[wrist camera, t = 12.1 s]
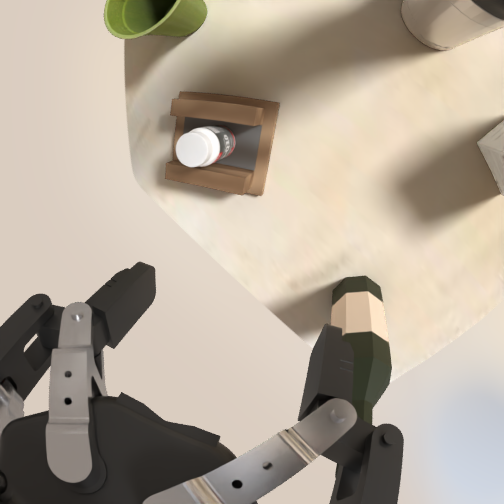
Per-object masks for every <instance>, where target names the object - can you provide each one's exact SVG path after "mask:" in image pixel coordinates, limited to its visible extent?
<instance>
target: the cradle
mask: <svg viewBox="0 0 504 504" xmlns="http://www.w3.org/2000/svg"><path fill="white" fill-rule="evenodd" d="M279 104H280V103H277V102H271V101H265V100H259V99H252V98H245V97H237V96H229V95H220V94H209V93H197V92H181V91H180V94H179V99H172V105H171V114H170V115H172V116H177V119H176V128H175V139H174V150H173V161H171V162H168V163H166V175H165V179H169V180H174V181H179V182H184V183H189V184H193V185H198V186H203V187H207V188H212V189H216V190H221V191H225V192H230V193H234V194H238V195H243V194H244V193H250V194H255V195H259V196H262V194H263V192H264V186H265V181H266V175H267V170H268V164H269V159H270V154H271V148H272V143H273V137H274V132H275V126H276V121H277V115H278V110H279ZM213 125H222V126H225V127H227V128H228V129H230V130H231V131H232V133H233V135H234V137H235V147H234V150H233V151H232V153H231V154H230V155H229V156H227V157H226V158H223V159H221V160H219V161H217V162H215V163H212V164H210V165H208V166H203V167H200V166H197V167H188V166H185V165H184V164H182V163H181V162H180V161H179V159H178V157H177V155H176V144H177V141H178V140H179V138H180V137H181V136H182V135H184V134H186V133H189V132H190V131H192V130H193V129H196V128H201V127H207V126H213Z"/></svg>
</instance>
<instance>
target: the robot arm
mask: <svg viewBox="0 0 504 504" xmlns="http://www.w3.org/2000/svg"><path fill="white" fill-rule="evenodd" d="M401 13H402V18H403V21H404V23H405V25H406V26H407V28H408V30H409V31H410V32H411V33H412V35H414V36H415V37H416V38H417V39H418V40H419V41H421V42H422V43H423V44H425V45H427V46H429V47H431V48H434V49H437V50H450V49H453V48H455V47H457V46H460V45H462V44H464V43H467V42H469V41H471V40H474V39H476V38H478V37H481V36H483V35H485V34H488V33H490V32H493V31H495V30H498V29H500V28H503V27H504V0H404V1H403V3H402V7H401ZM155 294H156V284H155V268H154V267H153V266H150V265H148V264H145V263H142V262H138V263H136V264H135V265H134V266H133V267H132V268H131V269H128V268H127V269H124V270H122V271H120V272H118V273H116V274H115V275H114V276H113V277H112V278H111V280H109V281H108V282H106V283H105V285H103V286H102V287H101V288H100V289H99V290H98V291H97V292H96V293H95V294H94V295H92V296H91V297H90V298H89V299H88V300H87V301H86V302H85V303H82V302H75V303H72V304H70V305H68V306H67V307H66V308H65V307H60V306H55V305H52V303H51V300H50V298H49V296H47V295H45V294H36V295H33V296H32V297H30V298H29V299H28V300H27V301H26V302H25V303H24V304H23V305H22V306H21V307H20V308H19V309H18V310H17V311H16V312H15V313H14V314H13V315H12V316H11V317H10V318H9V319H8V320H7V321H6V322H5V323H4V324H3V325H2V326H1V327H0V504H258V503H257V501H256V500H258V499H259V498H261V497H262V496H264V495H266V494H267V493H269V492H270V491H272V490H273V489H275V488H276V487H277V486H279V485H281V484H282V483H284V482H285V481H287V480H288V479H289V478H291V477H292V476H294V475H295V474H296V473H298V472H299V471H300V470H302V469H303V468H304V467H306V466H307V465H308V464H309V463H311V462H312V461H313V460H314V459H316V458H317V457H318V456H319V455H322V456H324V457H326V458H328V459H330V460H332V461H334V462H336V463H338V464H339V468H338V472H337V476H336V480H335V485H334V489H333V493H332V496H331V500H330V503H329V504H397V501H398V494H399V487H400V479H401V469H402V457H403V443H404V442H403V441H404V439H403V435H402V433H401V431H400V430H399V429H398V428H397V427H396V426H394V425H391V424H382V425H380V426H378V427H375V426H373V425H372V424H370V423H368V422H366V421H364V420H362V419H361V418H360V417H358V415H357V414H356V410H355V408H354V407H353V406H352V390H353V370H354V365H353V363H354V351H353V349H352V347H351V344H350V343H349V342H345V341H342V328H340V327H336V326H333V325H329V324H325V326H324V327H323V329H322V332H321V334H320V336H319V338H318V340H317V342H316V344H315V346H314V348H313V350H312V353H311V357H310V362H309V367H308V373H307V378H306V383H305V388H304V393H303V398H302V403H301V407H300V412H299V416H298V421H300V422H299V423H297V424H296V425H294V426H293V427H291V428H290V429H288V430H286V429H285V430H283V431H281V432H279V433H278V434H276V435H274V436H273V437H271V438H270V439H268V440H267V441H265V442H263V443H262V444H260V445H259V446H257V447H255V448H253V449H252V450H250V451H249V452H247V453H245V454H243V455H241V456H240V457H238V458H236V456H235V455H234V454H233V453H232V452H231V451H230V450H229V449H228V448H227V447H225V446H224V445H223V444H221V443H219V439H220V436H218V435H216V434H212V433H210V432H207V431H205V430H202V429H199V428H197V427H195V426H189V425H183V424H178V423H172V422H168V421H165V420H163V419H162V418H161V417H159V416H158V415H157V414H156V413H154V412H153V411H152V410H151V409H149V408H148V407H147V406H146V405H144V404H143V403H141V402H139V401H137V400H135V399H134V398H131V397H130V396H128V395H126V394H124V393H122V392H121V394H120V395H119V397H112V396H108V395H107V391H106V386H105V376H104V357H103V348H104V347H105V345H108V346H109V347H111V348H113V349H114V348H115V347H116V346H117V345H118V343H119V342H120V341H121V340H122V339H123V337H124V336H125V335H126V334H127V333H128V331H129V330H130V329H131V328H132V327H133V325H134V324H135V323H136V322H137V320H138V319H139V318H140V317H141V316H142V315H143V313H144V312H145V311H146V310H147V309H148V308H149V306H150V305H151V304H152V302H153V301H154V298H155ZM35 334H37V336H38V337H37V338H36V340H35V341H34V342H33V343H32V344H31V345H30V346H29V348H28V349H27V350H26V351H25V352H24V347H25V345H26V344H27V343H28V342H29V341H30V339H31V338H32V337H33V336H34V335H35ZM50 366H51V371H50V386H49V410H48V411H45V412H41V413H37V414H33V415H29V416H25V417H24V411H23V408H24V403H23V402H24V400H25V399H26V397H27V396H28V395H29V393H30V392H31V391H32V389H33V388H34V387H35V385H36V384H37V383H38V381H39V380H40V379H41V377H42V376H43V375H44V373H45V372H46V371H47V369H48V368H49V367H50Z"/></svg>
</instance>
